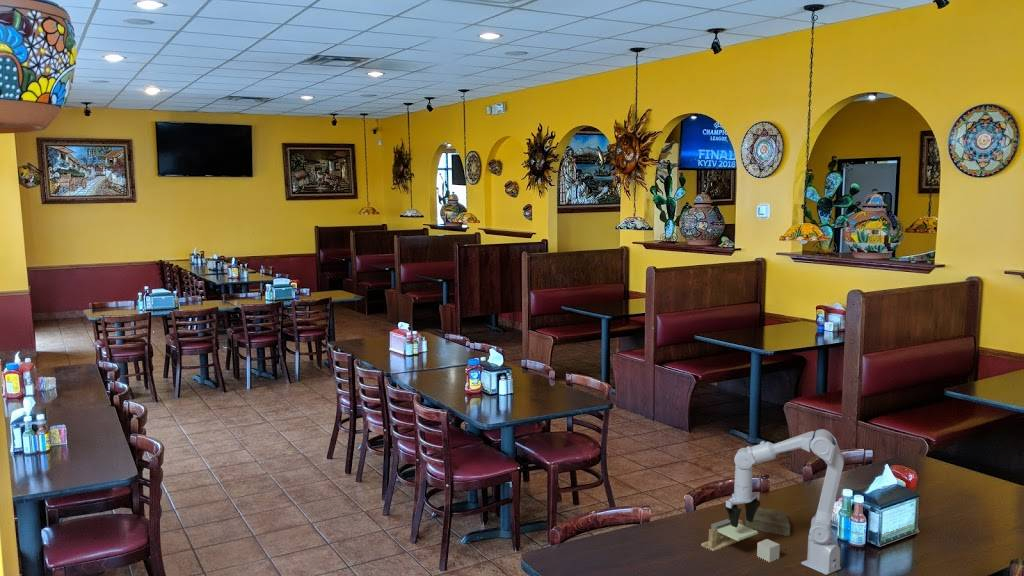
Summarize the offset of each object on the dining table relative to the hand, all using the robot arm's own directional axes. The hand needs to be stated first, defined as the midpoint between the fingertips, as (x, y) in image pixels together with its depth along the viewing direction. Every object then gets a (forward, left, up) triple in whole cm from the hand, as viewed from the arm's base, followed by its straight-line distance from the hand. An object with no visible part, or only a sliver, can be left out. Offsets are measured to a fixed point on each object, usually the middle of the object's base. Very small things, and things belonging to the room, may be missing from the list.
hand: (741, 523), depth 266 cm
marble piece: (+9, -25, -10) cm, 29 cm away
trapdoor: (+4, 0, -4) cm, 5 cm away
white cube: (-8, -4, -8) cm, 12 cm away
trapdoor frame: (+8, 0, -10) cm, 13 cm away
